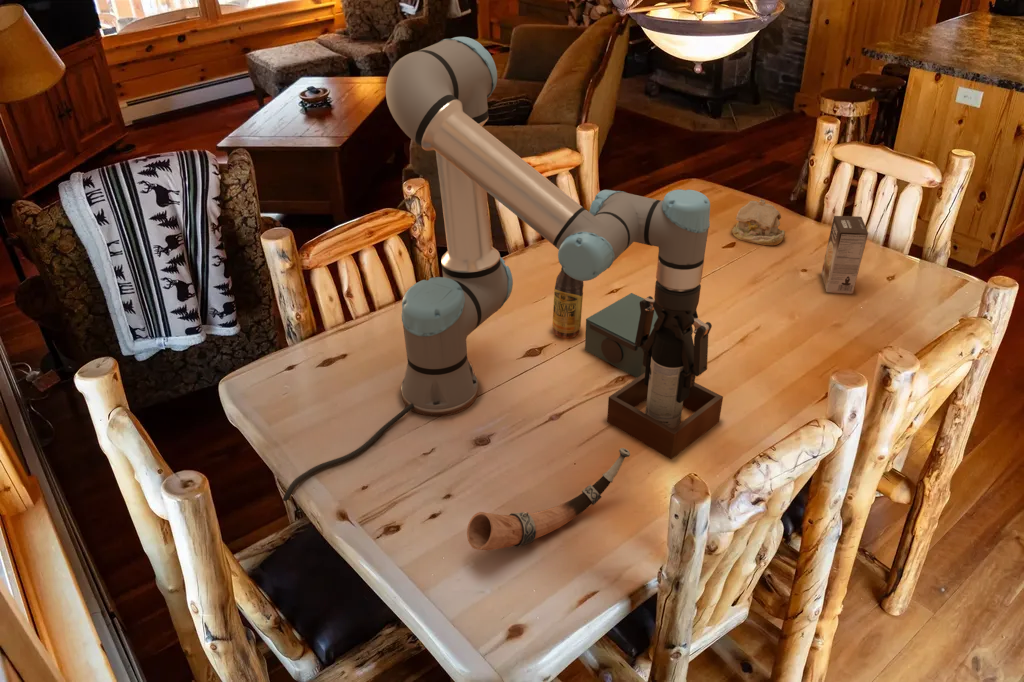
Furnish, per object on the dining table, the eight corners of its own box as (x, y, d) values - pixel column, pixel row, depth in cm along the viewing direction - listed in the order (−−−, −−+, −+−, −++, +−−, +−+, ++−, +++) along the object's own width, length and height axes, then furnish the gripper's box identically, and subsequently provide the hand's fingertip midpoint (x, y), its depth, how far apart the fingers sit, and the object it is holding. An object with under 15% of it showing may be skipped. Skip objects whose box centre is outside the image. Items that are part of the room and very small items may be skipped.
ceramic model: (723, 235, 217) (728, 200, 211) (742, 220, 224) (748, 187, 218) (772, 249, 209) (779, 214, 203) (791, 234, 216) (797, 200, 210)
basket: (671, 459, 143) (674, 434, 140) (606, 421, 152) (608, 396, 149) (719, 421, 152) (723, 396, 148) (655, 387, 161) (658, 363, 158)
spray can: (668, 407, 156) (678, 319, 145) (687, 427, 150) (699, 339, 139) (638, 415, 154) (646, 327, 143) (656, 436, 148) (665, 347, 137)
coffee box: (819, 274, 198) (833, 214, 189) (847, 275, 197) (861, 215, 188) (826, 293, 190) (840, 231, 181) (854, 294, 189) (869, 233, 181)
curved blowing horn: (463, 553, 126) (459, 507, 121) (615, 481, 139) (618, 437, 133) (480, 577, 122) (478, 531, 117) (635, 501, 135) (640, 457, 129)
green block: (638, 380, 163) (641, 348, 159) (583, 351, 172) (584, 319, 168) (684, 349, 172) (687, 318, 167) (629, 323, 181) (631, 292, 176)
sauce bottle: (547, 335, 177) (548, 255, 166) (559, 322, 182) (561, 243, 171) (574, 342, 175) (577, 262, 164) (586, 328, 179) (589, 249, 168)
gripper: (741, 294, 131) (723, 404, 144) (646, 255, 143) (637, 360, 156) (714, 311, 127) (698, 423, 140) (618, 269, 139) (612, 376, 152)
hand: (666, 390), depth 148 cm, fingers closed on spray can, 7 cm apart
